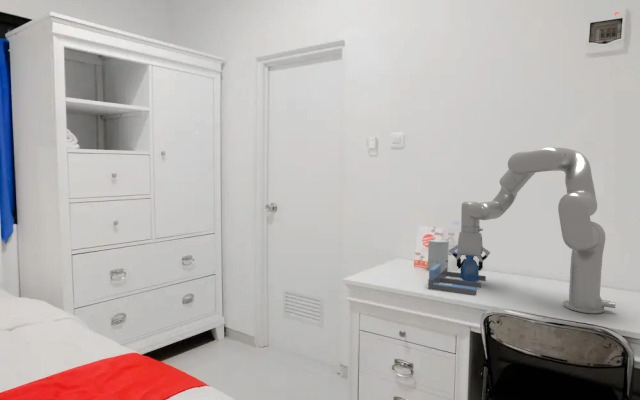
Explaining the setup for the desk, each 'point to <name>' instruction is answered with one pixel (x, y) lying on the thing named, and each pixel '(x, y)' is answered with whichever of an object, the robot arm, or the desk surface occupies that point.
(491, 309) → the desk surface
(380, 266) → the desk surface
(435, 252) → the skincare box
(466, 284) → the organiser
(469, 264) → the perfume bottle
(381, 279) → the desk surface
